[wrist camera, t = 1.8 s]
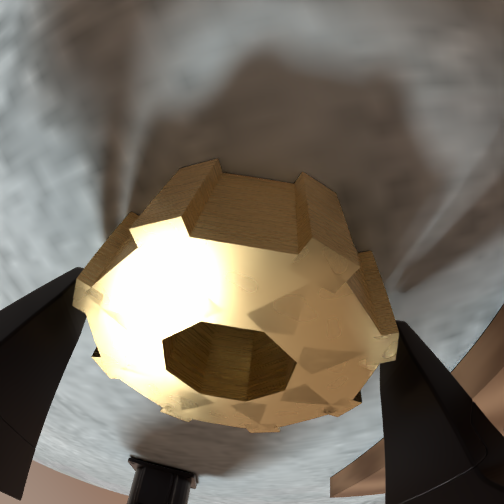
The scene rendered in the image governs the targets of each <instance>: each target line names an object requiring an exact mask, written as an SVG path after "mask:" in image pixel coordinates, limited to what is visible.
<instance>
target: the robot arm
mask: <svg viewBox="0 0 504 504" xmlns="http://www.w3.org/2000/svg"><path fill="white" fill-rule="evenodd" d="M83 269H84V268H81V267H76V268H74V269H72V270H70V271H69V272H67V273H65V274H63V275H61V276H59V277H58V278H56V279H54V280H52V281H50V282H49V283H47V284H45V285H43V286H41V287H40V288H38V289H36V290H34V291H33V292H31V293H29V294H27V295H26V296H24V297H22V298H21V299H19V300H17V301H15V302H14V303H12V304H10V305H9V306H7V307H5V308H4V309H2V310H0V491H1V492H3V493H5V494H7V495H9V496H11V497H13V498H15V499H18V500H21V498H22V495H23V491H24V487H25V483H26V479H27V476H28V472H29V469H30V465H31V462H32V459H33V455H34V452H35V448H36V445H37V442H38V439H39V436H40V433H41V430H42V428H43V425H44V422H45V419H46V416H47V414H48V411H49V408H50V406H51V403H52V400H53V398H54V395H55V393H56V390H57V388H58V385H59V383H60V380H61V378H62V376H63V373H64V371H65V369H66V366H67V364H68V362H69V359H70V357H71V355H72V353H73V350H74V348H75V346H76V344H77V341H78V339H79V337H80V334H81V331H82V328H83V326H84V323H85V320H86V317H87V316H86V314H85V313H84V312H82V311H80V310H79V309H77V308H75V307H73V306H72V304H73V297H74V291H75V285H76V279H77V277H78V276H79V275H80V273H81V272H82V271H83ZM395 321H396V324H397V327H398V331H399V337H398V345H397V353H396V360H394V361H389V362H384V363H380V395H381V406H382V418H383V432H384V451H385V504H504V436H503V435H502V434H501V433H500V432H499V431H498V429H497V428H496V427H495V426H494V425H493V424H492V423H491V422H490V420H489V419H488V418H487V417H486V416H485V414H484V413H483V412H482V411H481V410H480V408H479V407H478V406H477V404H476V403H475V402H474V401H473V400H472V398H471V397H470V396H469V395H468V393H467V392H466V391H465V390H464V389H463V387H462V386H461V385H460V384H459V382H458V381H457V380H456V379H455V378H454V377H453V375H452V374H451V373H450V372H449V371H448V369H447V368H446V367H445V366H444V365H443V364H442V362H441V361H440V360H439V359H438V358H437V357H436V355H435V354H434V353H433V352H432V351H431V350H430V349H429V347H428V346H427V345H426V344H425V343H424V342H423V341H422V340H421V338H420V337H419V336H418V335H417V334H416V333H415V332H414V331H413V330H412V328H411V327H410V326H409V325H408V324H407V323H406V322H405V321H398V320H395ZM128 462H129V464H130V465H131V466H132V467H133V469H134V470H135V471H136V472H135V476H134V479H133V483H132V487H131V490H130V494H129V498H128V502H127V504H187V503H188V498H189V492H190V488H193V489H196V486H197V485H196V477H195V475H194V474H192V473H187V472H183V471H178V470H174V469H170V468H166V467H162V466H158V465H154V464H150V463H147V462H143V461H140V460H137V459H133V458H129V459H128Z"/></svg>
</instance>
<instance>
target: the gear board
mask: <svg viewBox="0 0 504 504" xmlns="http://www.w3.org/2000/svg"><path fill="white" fill-rule="evenodd" d="M451 374H452V375H453V377H454V378H455V379H456V380H457V381H458V382H459V384H460V385H461V386H462V387H463V389H464V390H465V391H466V392H467V393H468V395H469V396H470V397H471V398H472V400H473V401H474V402H475V403H476V404H477V406H478V407H479V408H480V410H481V411H482V412H483V413H484V414H485V416H486V417H487V418H488V419H489V420H490V422H491V423H492V424H493V425H494V426H495V427H496V428H497V429H498V431H499V432H500V433H501V434H502V435H503V436H504V305H503V306H502V308H501V309H500V311H499V312H498V314H497V315H496V317H495V318H494V319H493V321H492V322H491V324H490V325H489V326H488V328H487V329H486V330H485V332H484V333H483V334H482V336H481V337H480V338H479V340H478V341H477V342H476V343H475V345H474V346H473V347H472V349H471V350H470V351H469V352H468V353H467V355H466V356H465V357H464V358H463V359H462V361H461V362H460V363H459V364H458V365H457V366H456V368H455V369H454V370H453V371H452V372H451ZM383 493H385V451H384V438H383V439H382V440H381V441H379V442H378V443H377V444H376V445H374V446H373V447H372V448H371V449H369V450H368V451H367V452H366V453H364V454H363V455H362V456H360V457H359V458H358V459H356V460H355V461H354V462H352V463H351V464H350V465H348V466H347V467H345V468H344V469H343V470H341V471H340V472H338V473H337V474H335V475H334V476H332V477H331V478H330V498H331V497H351V496H364V495H374V494H383Z"/></svg>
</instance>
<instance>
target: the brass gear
mask: <svg viewBox="0 0 504 504" xmlns="http://www.w3.org/2000/svg"><path fill="white" fill-rule="evenodd" d="M72 306H73V307H75V308H77V309H79V310H80V311H82V312H84V313H85V314H86V316H87V319H88V322H89V325H90V328H91V331H92V334H93V337H94V340H95V343H96V345H97V347H96V349H95V351H94V353H93V355H92V358H93V359H94V360H95V362H96V363H97V364H98V365H99V366H100V367H101V368H102V370H103V371H104V372H105V373H106V374H107V375H108V376H109V377H110V378H115V379H121V380H122V381H124V382H125V383H126V384H128V385H129V386H131V387H132V388H134V389H135V390H137V391H138V392H139V393H141V394H142V395H144V396H146V397H147V398H149V399H150V400H152V401H153V402H155V403H156V404H158V405H160V406H161V412H163V413H165V414H168V415H171V416H173V417H176V418H178V419H181V420H184V421H186V422H190V421H191V420H192V419H194V420H199V421H204V422H210V423H215V424H221V425H227V426H233V427H240V428H247V430H248V431H249V432H250V433H263V432H280V427H282V426H286V425H290V424H294V423H298V422H302V421H306V420H310V419H314V418H317V417H321V416H324V415H328V414H329V415H332V416H336V417H338V416H340V415H342V414H344V413H346V412H347V411H349V410H351V409H353V408H354V407H356V406H358V405H359V404H361V403H362V398H361V388H362V387H363V386H364V384H365V383H366V382H367V380H368V379H369V378H370V376H371V375H372V374H373V372H374V371H375V369H376V368H377V367H378V365H379V364H380V363H384V362H389V361H394V360H396V353H397V345H398V337H399V331H398V327H397V324H396V321H395V318H394V314H393V311H392V308H391V305H390V302H389V299H388V296H387V293H386V290H385V287H384V284H383V281H382V278H381V276H380V273H379V270H378V267H377V265H376V262H375V259H374V256H373V254H372V251H366V252H361V253H358V252H357V250H356V248H355V247H354V244H353V241H352V238H351V235H350V232H349V229H348V226H347V223H346V220H345V217H344V214H343V211H342V208H341V205H340V203H339V200H338V197H337V194H336V193H335V192H333V191H332V190H330V189H329V188H327V187H326V186H324V185H323V184H321V183H320V182H318V181H317V180H315V179H313V178H312V177H310V176H309V175H307V174H306V173H304V172H302V173H301V175H300V176H299V178H298V179H297V180H296V182H295V183H294V184H292V183H286V182H280V181H275V180H269V179H262V178H256V177H250V176H243V175H237V174H230V173H223V172H222V169H221V166H220V162H219V159H218V158H217V159H213V160H209V161H206V162H202V163H198V164H194V165H191V166H187V167H184V168H180V169H179V170H178V172H177V173H176V174H175V175H174V176H173V177H172V178H171V179H170V181H169V182H168V183H167V184H166V185H165V186H164V187H163V189H162V190H161V191H160V192H159V193H158V194H157V196H156V197H155V198H154V199H153V200H152V202H151V203H150V204H149V205H148V206H147V208H146V209H145V210H144V211H143V212H142V214H141V215H140V216H138V215H136V214H135V213H133V212H130V213H129V214H128V216H127V217H126V218H125V219H124V220H123V221H122V222H121V224H120V225H119V226H118V227H117V228H116V230H115V231H114V232H113V233H112V234H111V236H110V237H109V238H108V239H107V240H106V242H105V243H104V244H103V245H102V246H101V248H100V249H99V250H98V251H97V253H96V254H95V255H94V256H93V258H92V259H91V260H90V262H89V263H88V264H87V265H86V267H85V268H84V269H83V271H82V272H81V273H80V275H79V276H78V277H77V279H76V285H75V291H74V297H73V304H72Z"/></svg>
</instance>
